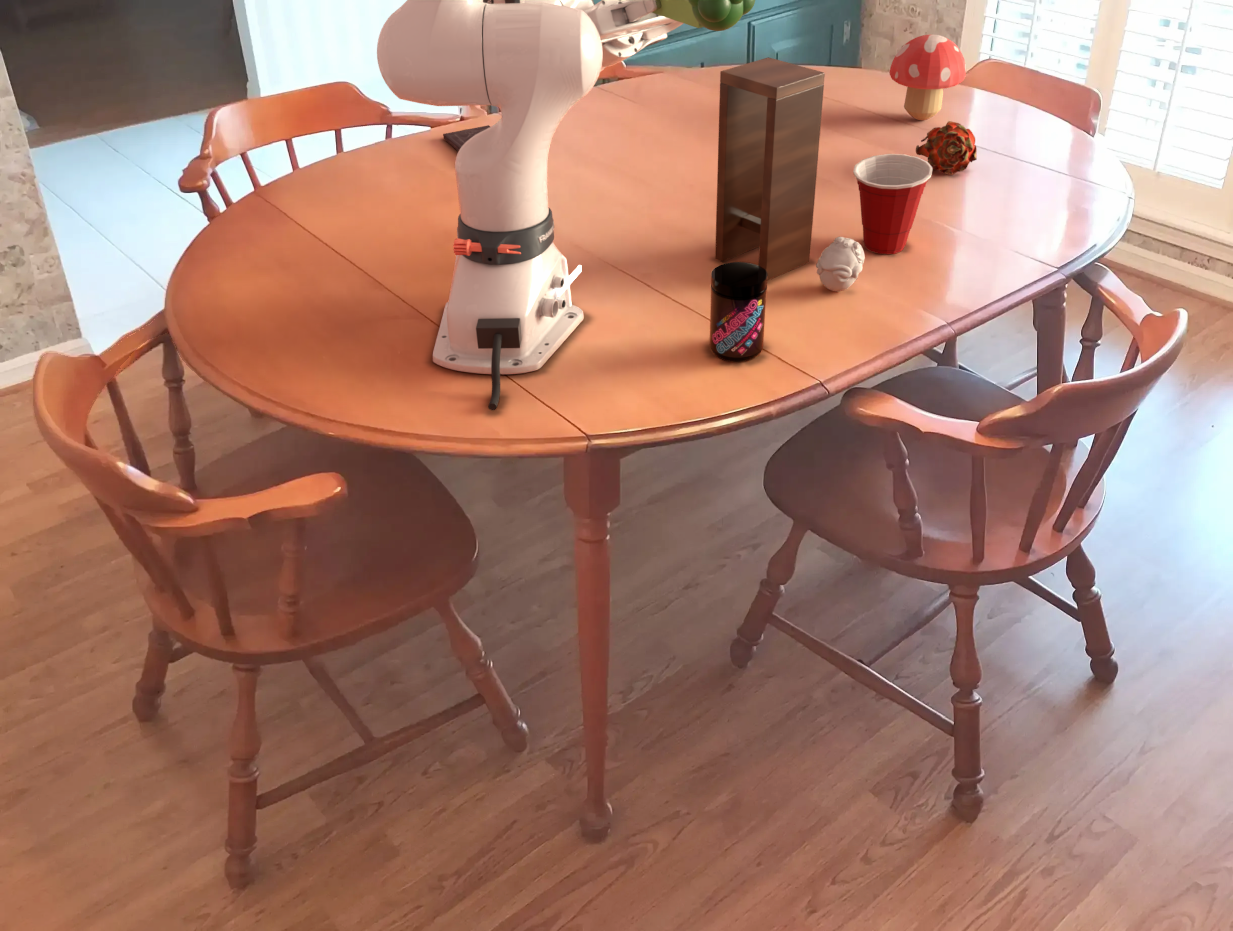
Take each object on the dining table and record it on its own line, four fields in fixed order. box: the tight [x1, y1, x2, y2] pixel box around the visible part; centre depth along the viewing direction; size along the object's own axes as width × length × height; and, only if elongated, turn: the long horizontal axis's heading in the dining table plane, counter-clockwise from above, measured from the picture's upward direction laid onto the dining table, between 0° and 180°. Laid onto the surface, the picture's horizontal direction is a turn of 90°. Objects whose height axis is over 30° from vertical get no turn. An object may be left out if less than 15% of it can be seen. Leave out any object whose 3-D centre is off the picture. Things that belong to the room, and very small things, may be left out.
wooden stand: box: [714, 56, 826, 282], centre depth 149 cm, size 10×9×26 cm
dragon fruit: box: [915, 120, 978, 176], centre depth 181 cm, size 8×8×12 cm
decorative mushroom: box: [888, 34, 967, 121], centre depth 199 cm, size 13×13×15 cm
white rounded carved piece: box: [815, 236, 866, 292], centre depth 147 cm, size 6×7×7 cm
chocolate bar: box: [443, 124, 491, 153], centre depth 196 cm, size 9×1×18 cm
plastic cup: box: [852, 153, 933, 255], centre depth 156 cm, size 11×11×12 cm
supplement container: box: [709, 261, 768, 363], centre depth 133 cm, size 7×7×10 cm
